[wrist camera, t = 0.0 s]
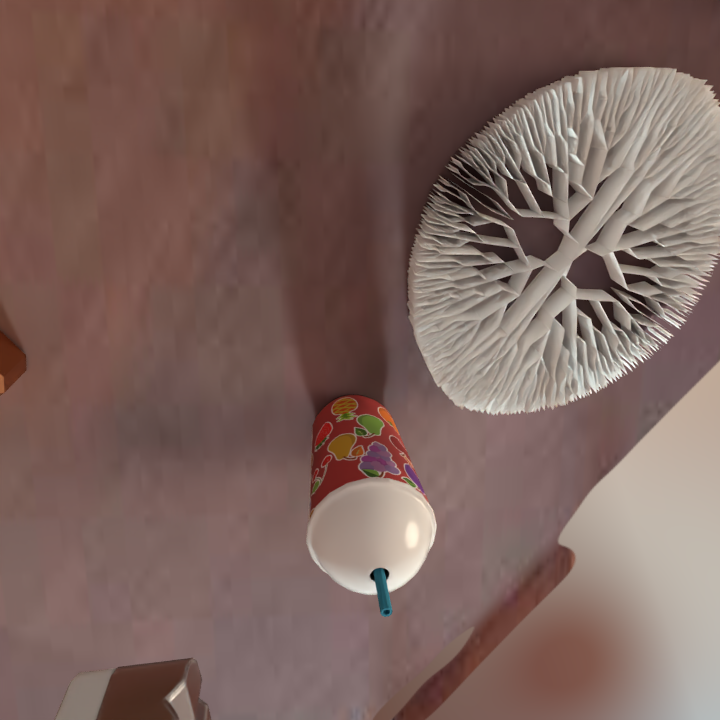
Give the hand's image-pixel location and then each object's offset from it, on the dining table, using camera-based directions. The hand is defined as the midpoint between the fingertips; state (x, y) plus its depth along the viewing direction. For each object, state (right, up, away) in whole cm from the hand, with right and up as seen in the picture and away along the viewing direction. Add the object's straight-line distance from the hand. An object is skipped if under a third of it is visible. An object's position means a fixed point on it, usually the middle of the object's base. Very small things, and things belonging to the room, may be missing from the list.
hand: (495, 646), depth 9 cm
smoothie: (-3, -1, +44) cm, 44 cm away
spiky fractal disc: (+13, +12, +39) cm, 43 cm away
